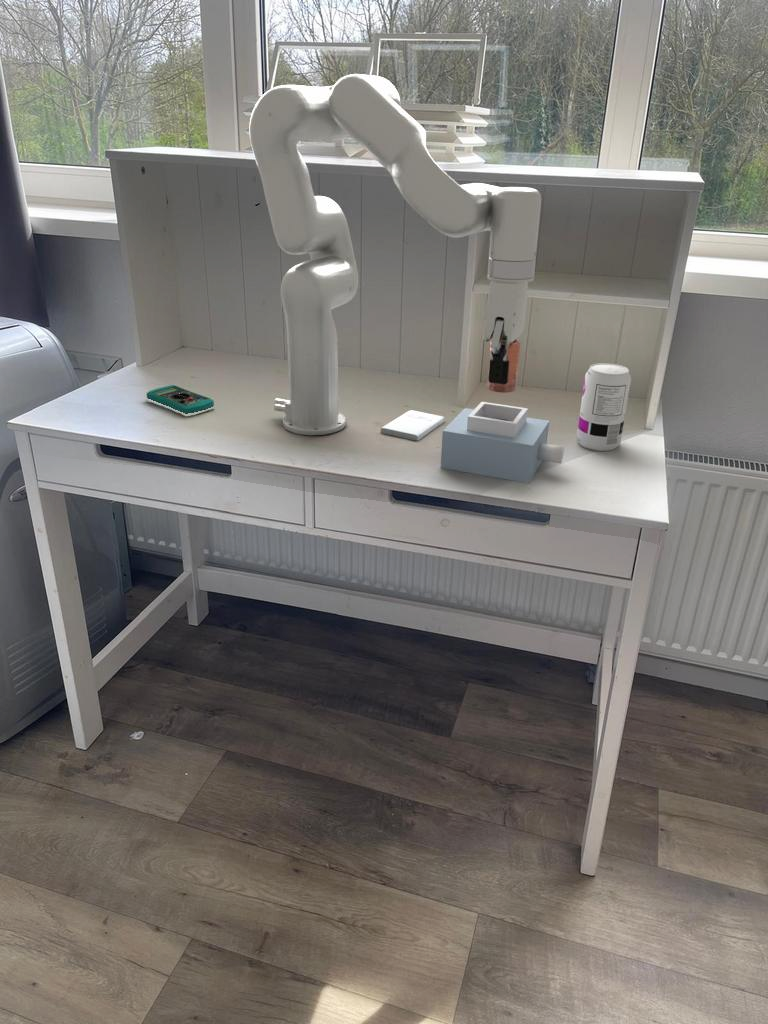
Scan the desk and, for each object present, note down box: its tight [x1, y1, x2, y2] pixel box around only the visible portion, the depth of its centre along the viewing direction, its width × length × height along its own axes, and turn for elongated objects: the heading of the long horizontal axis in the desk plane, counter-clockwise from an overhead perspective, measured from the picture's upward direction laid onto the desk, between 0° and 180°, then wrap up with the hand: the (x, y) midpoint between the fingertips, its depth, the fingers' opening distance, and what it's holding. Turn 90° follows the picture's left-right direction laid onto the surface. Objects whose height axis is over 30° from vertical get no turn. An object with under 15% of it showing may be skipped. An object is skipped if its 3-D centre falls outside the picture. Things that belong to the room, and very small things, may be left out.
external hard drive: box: [380, 409, 445, 442], centre depth 157 cm, size 2×8×12 cm
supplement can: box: [576, 362, 632, 452], centre depth 147 cm, size 8×8×15 cm
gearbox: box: [440, 401, 565, 484], centre depth 139 cm, size 20×13×10 cm, turn 67°
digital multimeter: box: [146, 384, 215, 414], centre depth 166 cm, size 7×15×3 cm, turn 49°
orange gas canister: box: [486, 338, 521, 394], centre depth 133 cm, size 5×5×10 cm
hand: (502, 377), depth 135 cm, fingers closed on orange gas canister, 5 cm apart
